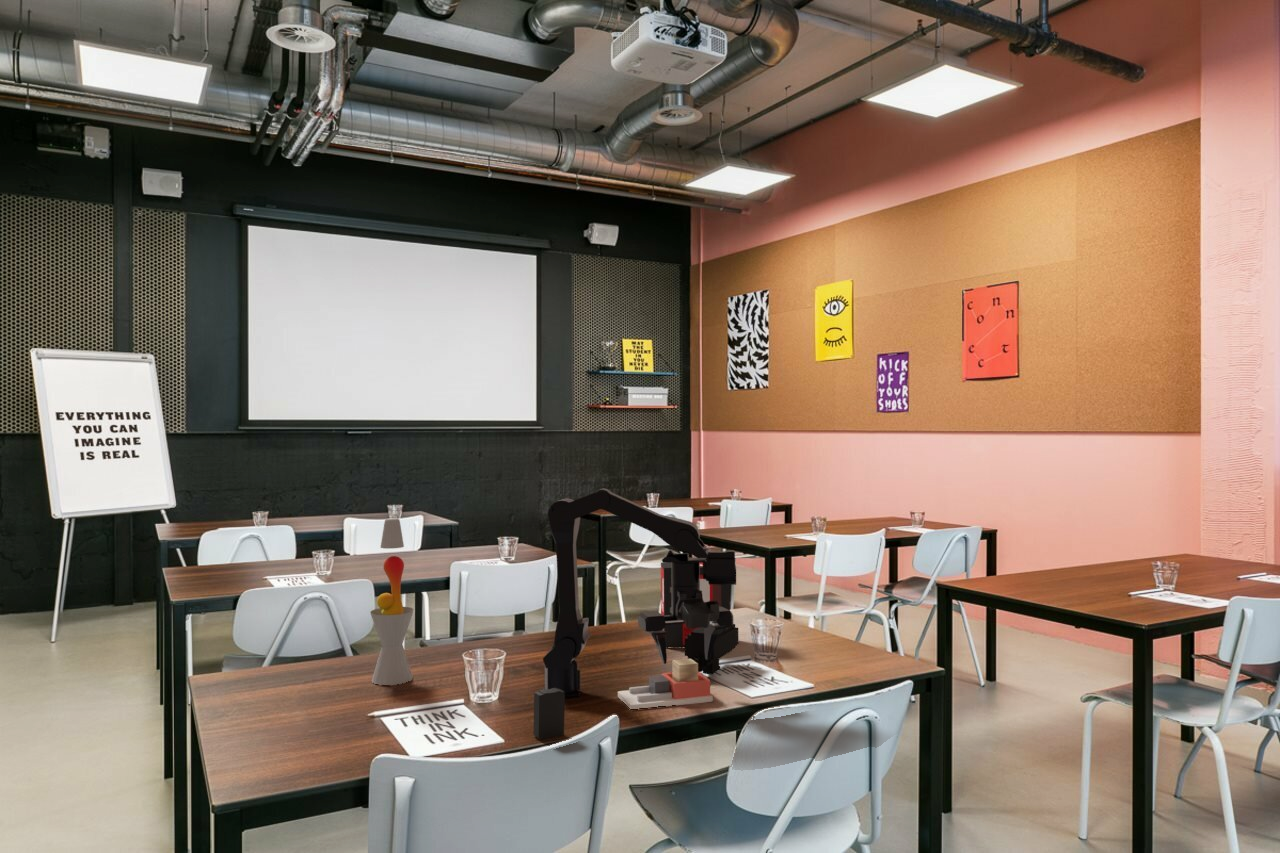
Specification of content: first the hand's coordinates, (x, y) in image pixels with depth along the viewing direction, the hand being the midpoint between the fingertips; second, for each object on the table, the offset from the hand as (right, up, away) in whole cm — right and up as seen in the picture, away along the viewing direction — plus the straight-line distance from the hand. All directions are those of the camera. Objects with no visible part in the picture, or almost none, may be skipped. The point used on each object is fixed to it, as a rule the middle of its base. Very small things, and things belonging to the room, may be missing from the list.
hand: (686, 661), depth 166 cm
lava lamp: (-63, -8, +13) cm, 65 cm away
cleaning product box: (+5, -8, +43) cm, 44 cm away
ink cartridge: (-25, -7, -22) cm, 34 cm away
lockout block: (0, -6, 0) cm, 6 cm away
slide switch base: (-4, -7, -1) cm, 8 cm away
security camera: (+6, -8, +18) cm, 20 cm away
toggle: (-6, -6, -2) cm, 8 cm away
